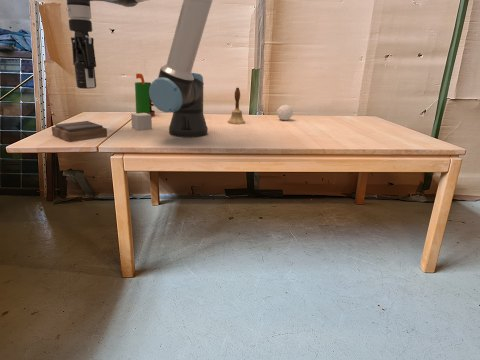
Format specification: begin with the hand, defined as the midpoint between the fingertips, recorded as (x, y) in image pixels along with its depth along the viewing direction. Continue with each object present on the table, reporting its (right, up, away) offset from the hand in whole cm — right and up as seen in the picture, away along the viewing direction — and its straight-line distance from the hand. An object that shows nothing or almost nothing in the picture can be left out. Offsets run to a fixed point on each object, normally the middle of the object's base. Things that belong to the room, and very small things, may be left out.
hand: (86, 86), depth 138 cm
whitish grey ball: (+79, -5, +45) cm, 92 cm away
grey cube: (+17, -14, +15) cm, 26 cm away
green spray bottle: (+11, -3, +44) cm, 46 cm away
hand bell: (+56, -8, +35) cm, 66 cm away
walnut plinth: (-2, -19, -2) cm, 19 cm away
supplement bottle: (0, -1, 0) cm, 1 cm away
